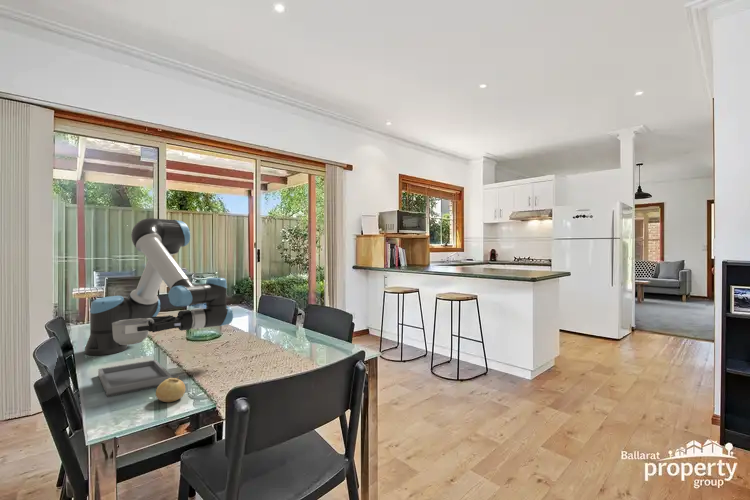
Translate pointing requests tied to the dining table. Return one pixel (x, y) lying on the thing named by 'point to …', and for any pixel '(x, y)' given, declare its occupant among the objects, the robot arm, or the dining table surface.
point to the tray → (132, 377)
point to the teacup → (131, 338)
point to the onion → (170, 390)
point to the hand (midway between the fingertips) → (122, 327)
